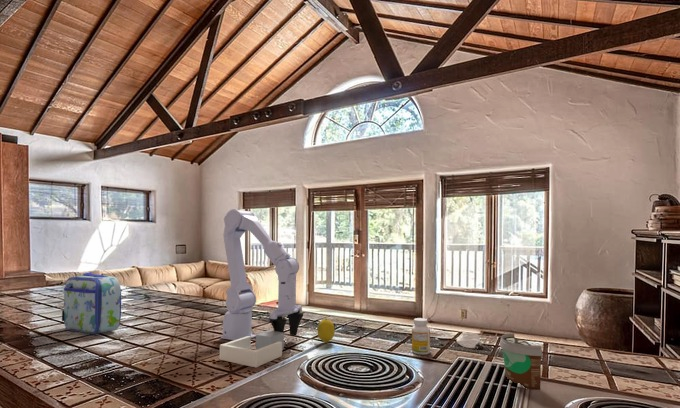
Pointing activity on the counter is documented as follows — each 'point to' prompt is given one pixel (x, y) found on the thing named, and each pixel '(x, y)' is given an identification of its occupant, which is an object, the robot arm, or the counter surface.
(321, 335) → the lemon
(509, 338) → the food container
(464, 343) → the whipped cream
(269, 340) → the light grey cube
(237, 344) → the tray
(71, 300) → the lunch box
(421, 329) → the supplement bottle
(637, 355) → the counter surface
